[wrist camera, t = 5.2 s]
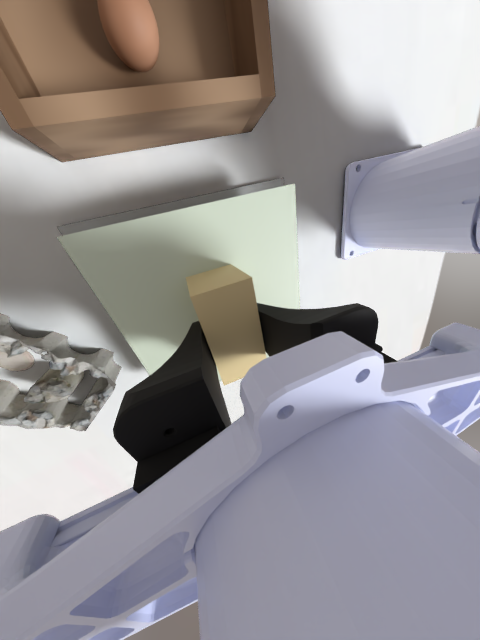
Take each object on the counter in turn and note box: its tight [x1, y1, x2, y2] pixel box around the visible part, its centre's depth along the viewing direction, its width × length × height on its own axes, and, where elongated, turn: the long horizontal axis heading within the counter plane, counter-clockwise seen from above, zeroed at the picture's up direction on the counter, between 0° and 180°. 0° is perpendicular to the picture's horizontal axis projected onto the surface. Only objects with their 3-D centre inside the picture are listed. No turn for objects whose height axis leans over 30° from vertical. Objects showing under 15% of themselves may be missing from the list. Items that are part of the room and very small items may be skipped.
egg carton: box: [0, 313, 121, 431], centre depth 13 cm, size 11×8×4 cm
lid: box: [57, 183, 300, 385], centre depth 12 cm, size 13×13×5 cm
